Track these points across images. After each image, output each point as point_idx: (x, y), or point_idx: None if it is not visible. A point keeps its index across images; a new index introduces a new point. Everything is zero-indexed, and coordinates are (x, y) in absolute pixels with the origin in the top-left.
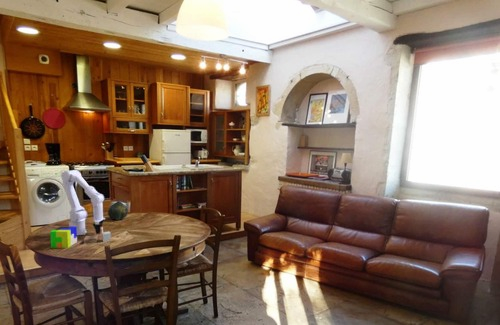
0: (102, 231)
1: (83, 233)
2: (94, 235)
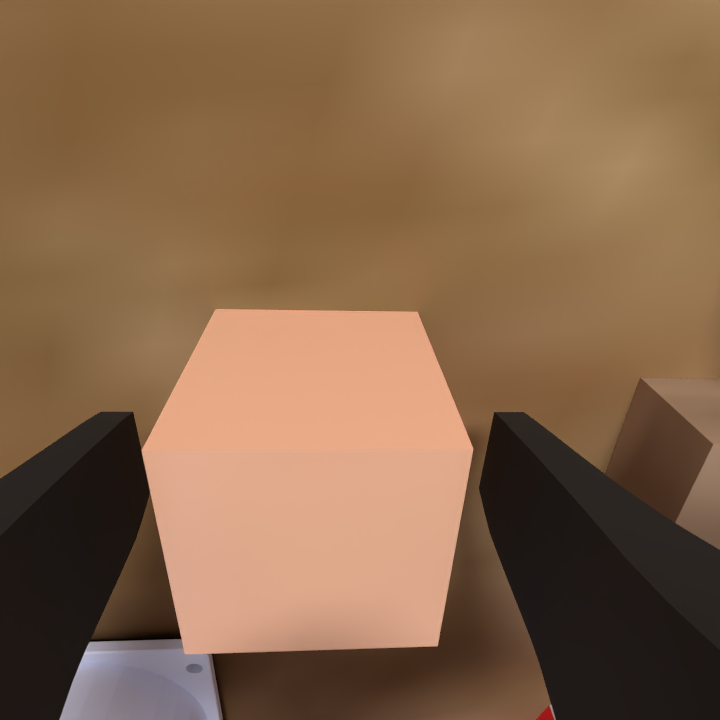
0: (321, 360)
1: (168, 671)
2: (701, 516)
